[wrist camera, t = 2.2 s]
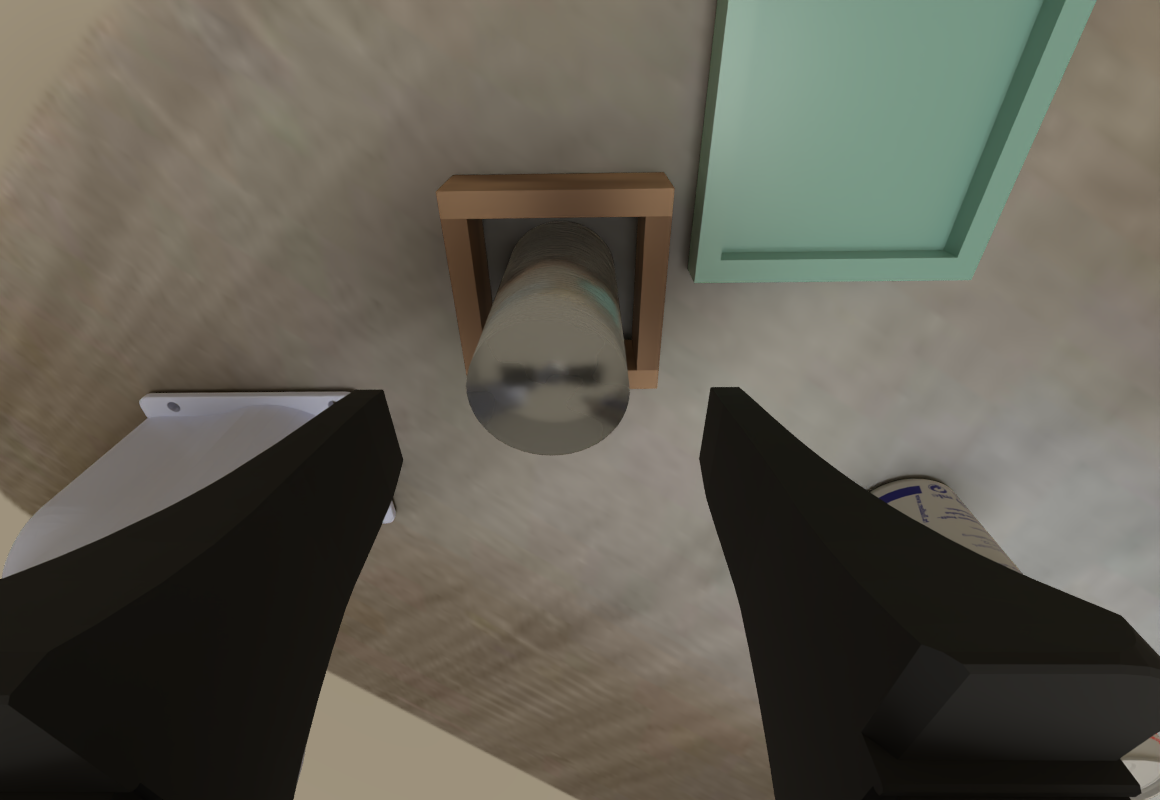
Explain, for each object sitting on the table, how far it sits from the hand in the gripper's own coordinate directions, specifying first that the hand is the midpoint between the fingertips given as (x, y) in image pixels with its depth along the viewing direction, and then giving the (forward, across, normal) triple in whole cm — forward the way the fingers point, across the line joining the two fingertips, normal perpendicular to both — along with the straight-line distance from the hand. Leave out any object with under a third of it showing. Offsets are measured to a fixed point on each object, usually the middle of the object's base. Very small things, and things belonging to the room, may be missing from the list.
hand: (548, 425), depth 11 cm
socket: (+9, 0, 0) cm, 9 cm away
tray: (+9, -9, -5) cm, 14 cm away
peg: (+9, 0, 0) cm, 9 cm away
